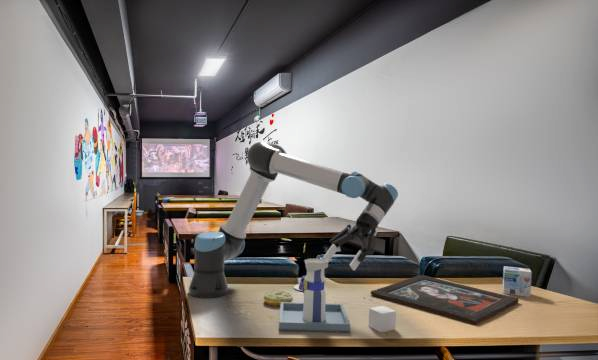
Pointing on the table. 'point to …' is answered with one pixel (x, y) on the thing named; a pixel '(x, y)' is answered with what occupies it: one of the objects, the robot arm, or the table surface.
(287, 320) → the blue-gray tray
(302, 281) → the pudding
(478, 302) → the religious icon
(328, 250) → the robot arm
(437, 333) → the table surface
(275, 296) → the decorated donut
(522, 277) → the light bulb box
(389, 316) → the white cube
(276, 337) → the table surface
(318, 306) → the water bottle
